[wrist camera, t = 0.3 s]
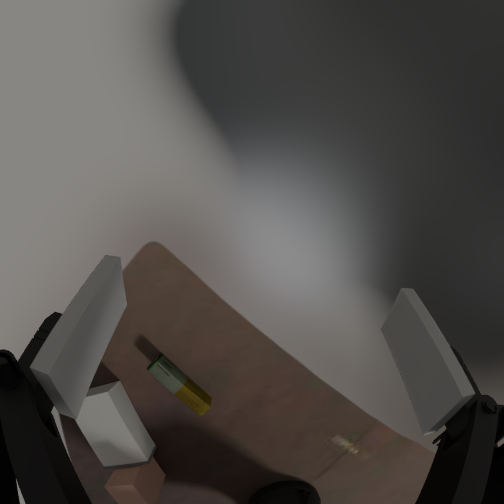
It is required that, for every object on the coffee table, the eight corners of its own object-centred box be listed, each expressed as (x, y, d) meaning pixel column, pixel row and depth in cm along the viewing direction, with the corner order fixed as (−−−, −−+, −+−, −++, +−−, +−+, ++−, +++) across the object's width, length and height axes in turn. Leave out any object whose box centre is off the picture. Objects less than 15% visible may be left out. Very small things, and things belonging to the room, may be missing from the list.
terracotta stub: (165, 475, 43) (153, 511, 31) (141, 478, 43) (126, 512, 31) (148, 449, 44) (132, 484, 32) (124, 454, 43) (104, 486, 31)
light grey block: (156, 446, 44) (149, 463, 38) (115, 454, 43) (105, 469, 37) (120, 380, 45) (107, 391, 39) (79, 391, 44) (65, 401, 38)
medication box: (151, 361, 46) (144, 368, 42) (160, 351, 46) (154, 358, 42) (203, 407, 46) (200, 417, 42) (213, 397, 46) (211, 407, 42)
